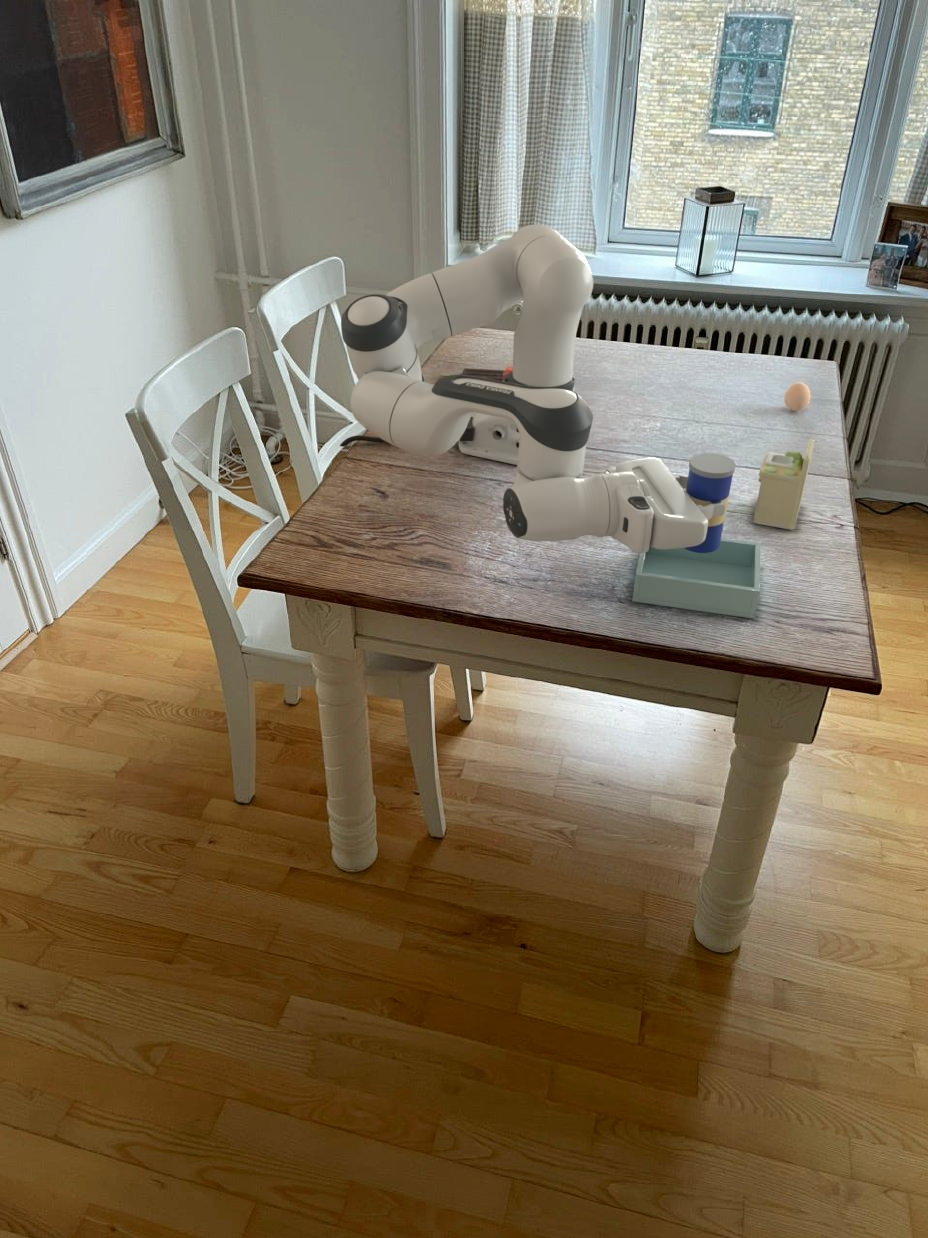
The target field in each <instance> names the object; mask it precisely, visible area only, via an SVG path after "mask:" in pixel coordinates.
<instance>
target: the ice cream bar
mask: <svg viewBox="0 0 928 1238" xmlns="http://www.w3.org/2000/svg"><path fill="white" fill-rule="evenodd" d="M504 371H505V369H504V370H503V369H489V368H488V369H487V368H485V369H484V368H467V367H465V368H464V369H463V371H462V373H457V372H440V378H443V377H445V376H449V375H469V376H477V377H483V378H489V379H494V380H500V381H502V377H503V372H504Z"/></svg>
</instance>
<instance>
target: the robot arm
mask: <svg viewBox="0 0 928 1238" xmlns="http://www.w3.org/2000/svg"><path fill="white" fill-rule="evenodd" d="M593 291H594V277H593V273H592V270H591V267H590V264H589V263H588V260H587V258H586V257H585V255H584V254H583V253H582V252H581V251H580V250H579V249H578V248H577V247H575V246H574V245H573V244H572V243H571V242H570V241H569V240H568V239H566V238H565V237H564V236H563V235H561V234H560V233H559V232H558V230H556V229H555V228H552V227H551V226H545V225H541V224H527V225H524V226H522V227H521V228H518V229H517V230H516V231H515V232H514V233H513V234H512V235H511V236H510V237H508V238H507V239H505V240H503V241H501V242H499V243H497V244H496V245H494V246H492V247H491V248H490V249H488V250H485V251H483V252H482V253H480V254H478V255H476V256H474V257H472V258H469V259H467V260H466V259H465V260H463V261H461V262H458V263H455V264H452V265H449V266H447V267H443V268H440V269H438V270H435V271H431V272H429V273H427V274H424V275H421V276H418V277H416V278H414V279H412V280H410V281H406V283H403V284H401V285H400V286H398V287H396V288H394V289H392V290H391V291H389V292H387V293H386V294H381V293H380V294H379V293H375V294H368V295H364V296H361V297H358V298H357V299H355V300H353V302H352V303H350V304H349V305H348V306H347V308H346V309H345V310H344V311H343V313H342V315H341V319H340V322H341V323H340V329H341V336H342V340H343V342H344V344H345V347H346V351H347V355H348V358H349V362H350V366H351V368H352V371H353V373H354V374H355V375H356V378H357V381H356V383H355V385H354V386H353V390H352V392H351V396H350V408H351V414H352V415H353V417H354V419H355V421H357V423H358V424H359V425H361V427H363V428H364V429H366V430H367V431H369V432H370V433H372V434H373V435H375V436H371V435H359V434H358V435H353V436H349V437H347V438H345V439H344V440H343V441H342V442H341V443H340V444H339V447H341V448H343V447H346V446H348V445H349V444H351V443H353V442H357V441H359V442H370V443H388V444H390V445H392V446H394V447H396V448H399V449H400V450H403V451H404V452H407V453H409V454H411V455H415V456H418V457H422V458H434V457H437V456H440V455H443V454H444V453H446V452H448V451H449V450H450V449H452V448H453V447H454V446H455V445H456V444H458V449H459V451H460V453H461V454H464V455H468V456H472V457H477V458H483V459H487V460H492V461H497V462H501V463H506V464H511V465H515V466H516V471H515V472H516V473H515V477H514V481H513V482H512V484H511V486H509V487H507V488H506V490H505V491H504V493H503V500H502V501H503V502H502V506H503V507H502V509H503V514H504V519H505V523H506V525H507V528H508V530H509V531H510V533H511V534H512V535H513V536H514V537H515V538H517V539H519V540H523V541H527V542H528V541H529V542H560V541H572V540H576V539H579V538H582V537H586V536H592V537H598V538H605V537H611V538H612V539H613V540H615V541H618V542H620V543H621V544H623V545H624V546H626V547H627V548H628V549H629V550H631V551H632V552H634V553H636V554H640V553H644V552H648V550H649V546H651V547H653V548H656V549H676V548H685V547H692V546H697V545H699V544H701V543H702V542H704V541H705V539H706V534H707V528H708V520H709V519H710V518H712V517H716V516H722V515H724V513H725V508H726V506H725V505H724V504H723V502H722V501H720V500H717V501H715V500H714V501H710V505H707V506H705V507H703V506H702V505H696V504H695V503H694V502H693V500H692V499H691V498H690V497H689V495H688V494H687V493H686V488H687V481H688V475H689V474H683V473H679V472H674V473H673V472H672V471H670V470H669V468H668V467H667V465H666V464H665V463H664V462H663V460H662V459H661V458H657V457H652V456H651V457H643V458H635V459H631V460H625V461H621V462H619V463H617V465H616V466H611V467H607V468H606V470H604V472H603V473H595V474H591V475H589V476H587V477H585V476H584V475H583V472H584V469H585V468H584V467H585V462H586V453H587V444H588V441H589V438H590V433H591V429H592V425H593V421H594V414H593V412H592V410H591V408H590V407H589V405H588V403H587V402H586V401H585V400H584V398H582V396H580V395H579V394H578V393H577V392H576V384H575V382H576V379H575V375H574V364H575V363H574V362H575V349H576V338H577V332H578V328H579V324H580V320H581V317H582V313H583V310H584V307H585V305H586V304H587V303H588V301H589V300H590V298H591V296H592V292H593ZM520 302H522V305H521V311H520V317H519V319H518V320H519V321H518V324H517V327H516V329H514V332H513V346H512V347H513V348H512V350H513V351H512V355H513V356H512V366H507V367H506V368H505V369H504V370H505V371H504V372H503V377H502V381H500V380H494V379H489V378H483V377H477V376H469V375H449V376H445V377H440V378H439V379H437V380H436V381H435V383H434V384H433V383H428V382H425V377H424V375H423V373H422V372H423V371H422V367H421V366H422V365H421V360H420V356H419V353H418V348H420V347H421V346H423V345H427V344H431V343H435V342H439V341H443V340H445V339H449V338H452V337H455V336H458V335H461V334H464V333H467V332H470V331H472V330H475V329H478V328H481V327H483V326H486V325H490V324H493V323H494V322H495V321H496V320H498V318H499V317H500V315H502V314H503V313H504V312H506V311H507V310H508V309H509V310H510V308H512V307H514V306H515V305H517V304H518V303H520Z"/></svg>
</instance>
